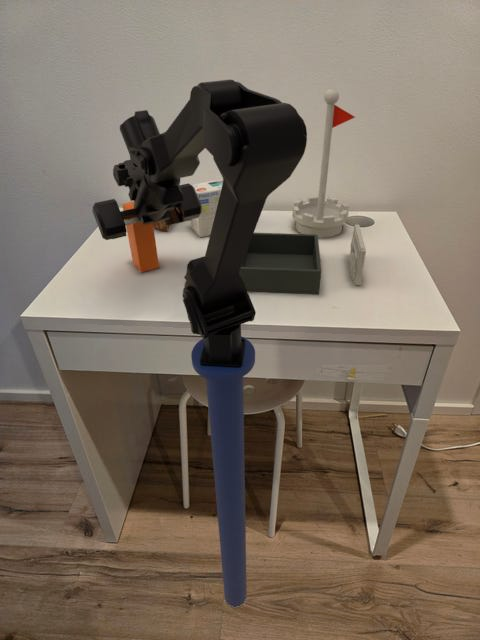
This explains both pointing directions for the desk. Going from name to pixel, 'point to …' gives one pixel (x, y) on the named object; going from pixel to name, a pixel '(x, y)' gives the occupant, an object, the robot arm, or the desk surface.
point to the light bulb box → (206, 206)
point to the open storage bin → (282, 263)
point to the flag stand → (324, 184)
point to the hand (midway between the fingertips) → (142, 229)
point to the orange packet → (142, 243)
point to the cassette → (357, 255)
